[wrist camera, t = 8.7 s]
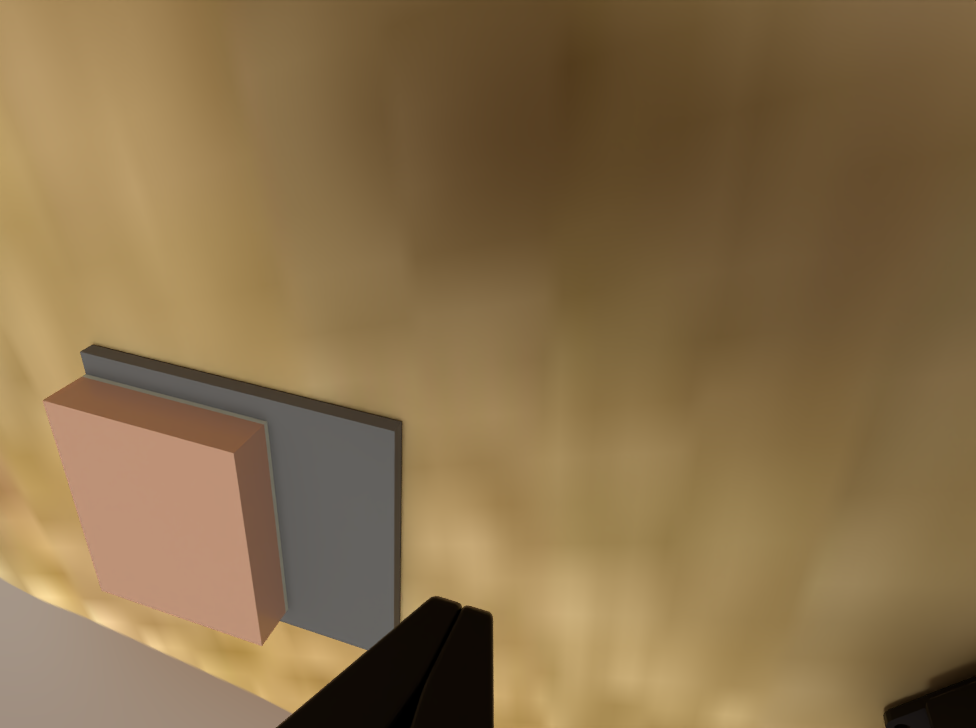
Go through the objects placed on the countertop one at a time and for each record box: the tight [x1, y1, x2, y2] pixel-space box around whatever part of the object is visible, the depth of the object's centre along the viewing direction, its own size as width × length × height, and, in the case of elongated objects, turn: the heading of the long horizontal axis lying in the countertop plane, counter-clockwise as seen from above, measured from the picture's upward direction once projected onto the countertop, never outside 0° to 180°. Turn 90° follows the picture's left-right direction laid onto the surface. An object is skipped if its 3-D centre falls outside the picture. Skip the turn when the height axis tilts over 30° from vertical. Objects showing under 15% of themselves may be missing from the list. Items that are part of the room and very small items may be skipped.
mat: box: [80, 345, 402, 650], centre depth 28 cm, size 13×12×1 cm
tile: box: [43, 374, 288, 646], centre depth 27 cm, size 2×10×8 cm
